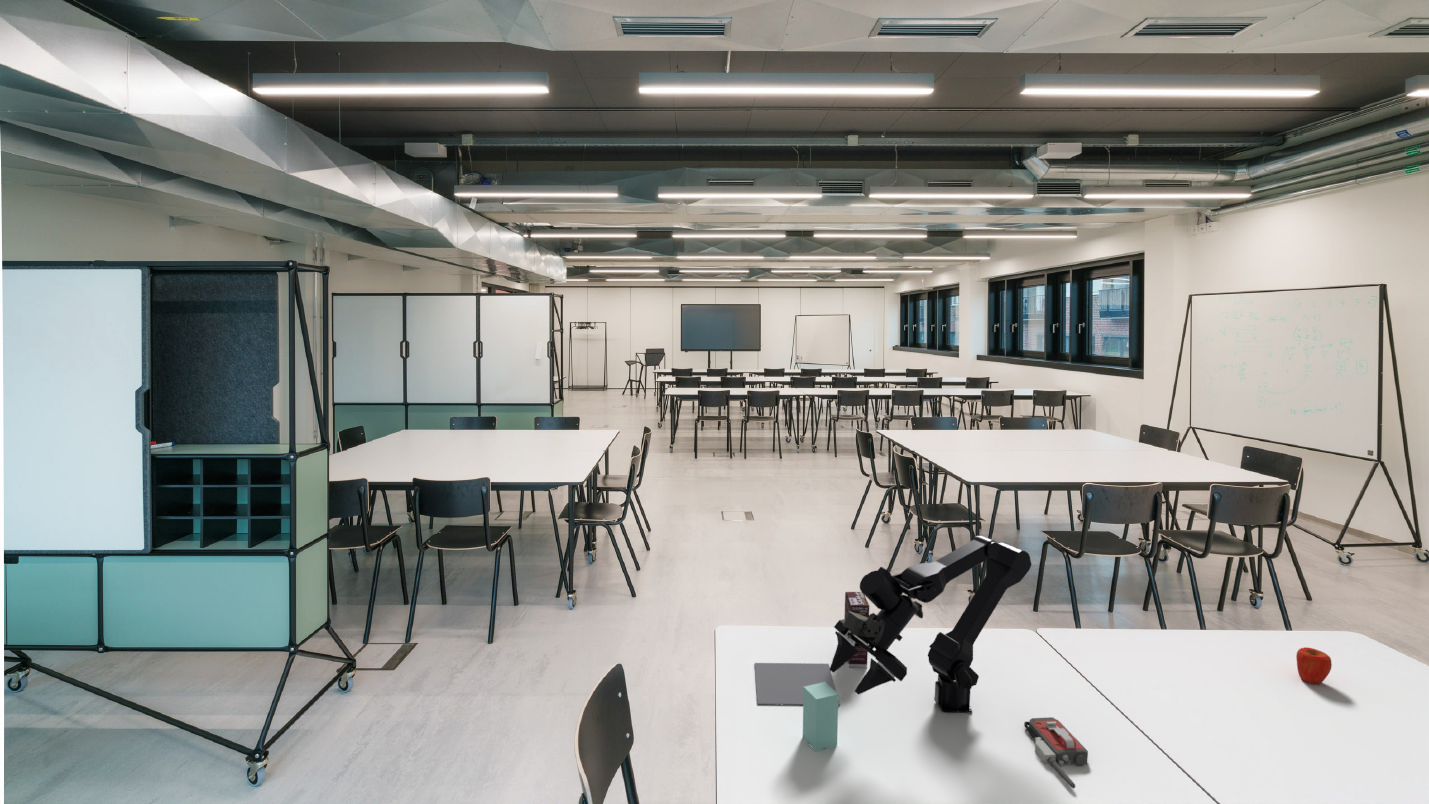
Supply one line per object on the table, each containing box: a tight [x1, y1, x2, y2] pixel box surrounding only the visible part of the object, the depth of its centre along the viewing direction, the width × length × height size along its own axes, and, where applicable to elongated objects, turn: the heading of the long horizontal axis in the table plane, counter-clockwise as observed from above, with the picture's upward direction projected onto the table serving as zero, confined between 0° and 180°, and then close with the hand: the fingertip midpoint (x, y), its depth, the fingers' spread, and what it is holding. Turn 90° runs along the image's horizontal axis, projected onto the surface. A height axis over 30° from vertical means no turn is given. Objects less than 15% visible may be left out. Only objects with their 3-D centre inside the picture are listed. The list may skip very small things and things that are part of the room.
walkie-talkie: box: [1023, 716, 1089, 789], centre depth 140 cm, size 9×4×20 cm
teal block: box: [802, 682, 839, 752], centre depth 144 cm, size 5×5×11 cm
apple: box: [1295, 647, 1333, 685], centre depth 168 cm, size 6×6×8 cm
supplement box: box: [843, 591, 870, 668], centre depth 177 cm, size 9×5×16 cm, turn 179°
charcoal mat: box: [754, 662, 841, 707], centre depth 167 cm, size 18×18×1 cm
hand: (843, 681), depth 145 cm, fingers open, 9 cm apart
